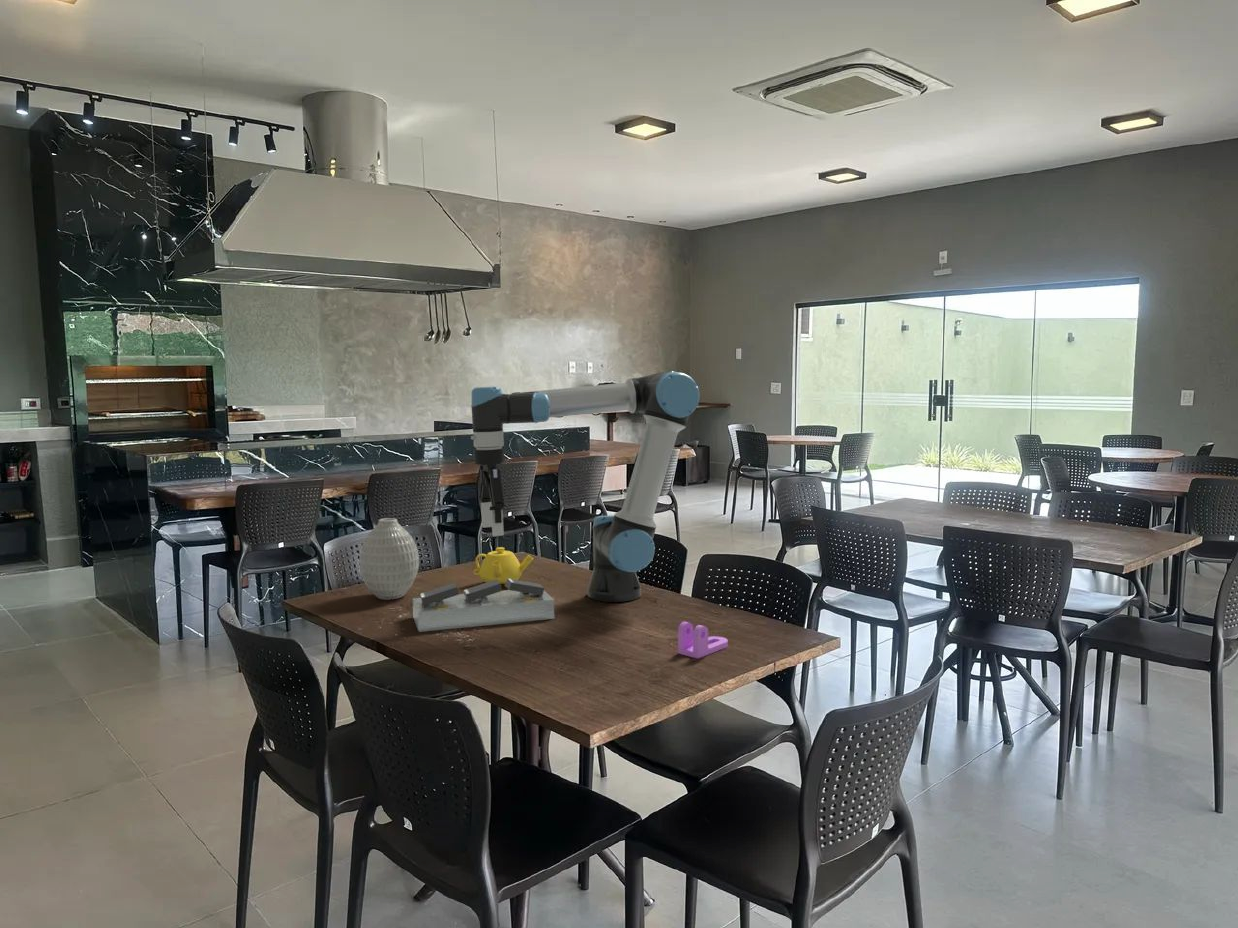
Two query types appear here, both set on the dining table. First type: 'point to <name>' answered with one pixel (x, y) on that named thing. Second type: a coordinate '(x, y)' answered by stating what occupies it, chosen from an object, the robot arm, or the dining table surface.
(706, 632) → the bracket
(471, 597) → the switch
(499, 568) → the teapot
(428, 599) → the switch
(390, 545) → the vase
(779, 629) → the dining table surface
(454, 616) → the console
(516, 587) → the switch
